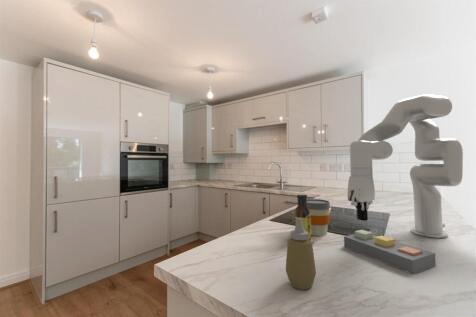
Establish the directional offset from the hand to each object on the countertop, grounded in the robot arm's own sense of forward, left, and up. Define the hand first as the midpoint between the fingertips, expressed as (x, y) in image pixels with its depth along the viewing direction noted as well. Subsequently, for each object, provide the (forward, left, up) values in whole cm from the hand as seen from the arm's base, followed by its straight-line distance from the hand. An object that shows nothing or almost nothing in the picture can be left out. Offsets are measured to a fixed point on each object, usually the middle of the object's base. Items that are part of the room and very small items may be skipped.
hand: (362, 219), depth 85 cm
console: (0, +8, -11) cm, 13 cm away
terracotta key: (0, +16, -8) cm, 18 cm away
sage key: (0, 0, -7) cm, 7 cm away
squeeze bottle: (+39, +10, -11) cm, 41 cm away
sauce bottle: (+16, -16, -11) cm, 25 cm away
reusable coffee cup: (+3, -22, -11) cm, 25 cm away
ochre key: (0, +8, -7) cm, 11 cm away
